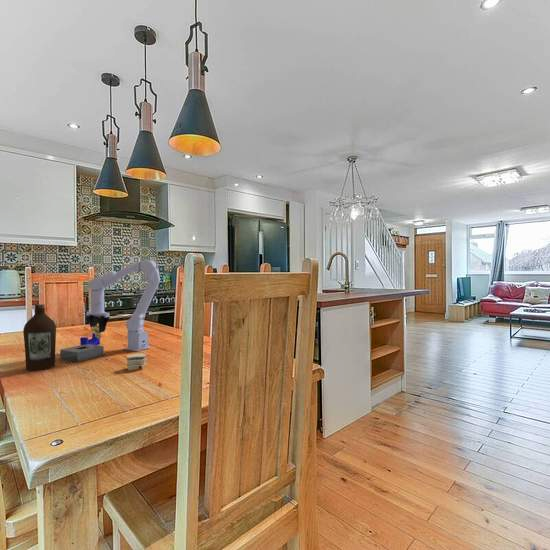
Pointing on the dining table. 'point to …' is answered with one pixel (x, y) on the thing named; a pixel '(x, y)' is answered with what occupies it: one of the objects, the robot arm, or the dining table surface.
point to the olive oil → (39, 340)
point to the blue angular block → (90, 340)
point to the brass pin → (96, 331)
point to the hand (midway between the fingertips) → (98, 331)
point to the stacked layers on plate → (136, 361)
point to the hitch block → (81, 352)
